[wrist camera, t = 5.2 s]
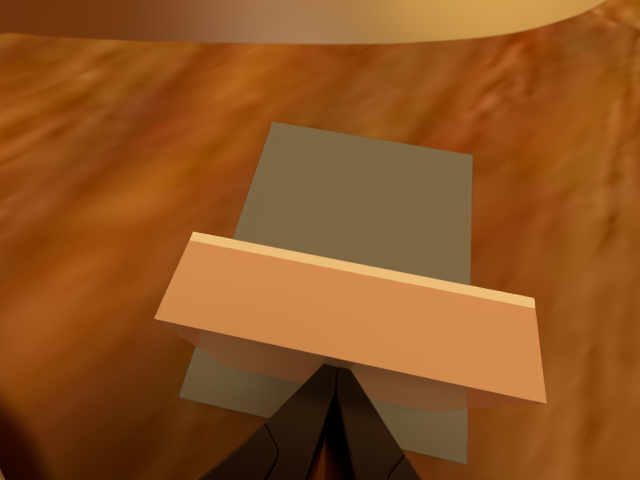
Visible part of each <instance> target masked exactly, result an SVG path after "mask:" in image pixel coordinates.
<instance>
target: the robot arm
mask: <svg viewBox="0 0 640 480" xmlns="http://www.w3.org/2000/svg"><path fill="white" fill-rule="evenodd" d="M325 437H326V438H325ZM324 442H325V480H422V479H421V478H420V477H419V475H418V474H417V472H416V471H415V469H414V468H413V466H412V464H411V463H410V461H409V460H408V458H407V457H405V454H404V453H403V451H402V449H401V448H400V446H399V445H398V443H397V442H396V440H395V438H394V437H393V435H392V434H391V432H390V431H389V429H388V427H387V426H386V424H385V423H384V421H383V420H382V418H381V416H380V415H379V413H378V412H377V410H376V409H375V407H374V405H373V404H372V402H371V401H370V399H369V398H368V396H367V394H366V393H365V391H364V390H363V388H362V386H361V385H360V383H359V382H358V380H357V379H356V377H355V375H354V374H353V372H352V371H351V370H350V369H347V368H343V367H337V369H336V366H333V365H328V364H323V365H321V366H320V367H319V368H318V369H317V370H316V371H315V372H314V373H313V374H312V376H311V377H310V378H309V379H308V380H307V381H306V382H305V383H304V384H303V385H302V386H301V387H300V388H299V389H298V390H297V391H296V392H295V393H294V394H293V395H292V396H291V397H290V398H289V399H288V400H287V401H286V402H285V403H284V404H283V405H282V406H281V407H280V408H279V409H278V410H277V411H276V412H275V413H274V414H273V415H272V416H271V417H270V418H269V419H268V420H267V421H266V422H265V423H264V424H263V425H261V426H260V427H259V428H258V429H257V430H256V432H255V433H254V434H252V435H251V436H250V437H249V438H248V439H247V440H246V441H245V442H244V443H243V444H242V445H241V446H240V447H238V448H237V449H236V450H235V451H234V452H232V453H231V454H230V455H229V456H227V457H226V458H225V459H224V460H223V461H221V462H220V463H219V464H217V465H216V466H215V467H213V468H212V469H211V470H210V471H208V472H207V473H206V474H204V475H203V476H202V477H201V478H199V479H198V480H315V476H316V472H317V469H318V465H319V461H320V457H321V454H322V450H323V446H324Z"/></svg>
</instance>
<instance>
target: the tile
mask: <svg viewBox="0 0 640 480" xmlns="http://www.w3.org/2000/svg"><path fill="white" fill-rule="evenodd" d="M154 319H155V320H157V321H158V322H160V323H161V324H163V325H164V326H166V327H167V328H169V329H170V330H172V331H173V332H175V333H176V334H178V335H179V336H181V337H182V338H184V339H185V340H187V341H188V342H190V343H191V344H193V345H194V346H196V347H197V348H199V349H200V350H202V351H203V352H205V353H207V354H208V355H210V356H211V357H213V358H214V359H216V360H217V361H219V362H220V363H222V364H223V365H225V366H226V367H228V368H232V369H236V370H241V371H245V372H250V373H254V374H259V375H263V376H268V377H272V378H277V379H281V380H286V381H290V382H295V383H299V384H304V383H305V382H306V381H307V380H308V379H309V378H310V377H311V376H312V374H313V373H314V372H315V371H316V370H317V369H318V368H319V367H320V366H321V365H323V364H328V365H333V366H336V369H337V367H343V368H347V369H350V370H351V371H352V372H353V374H354V375H355V377H356V379H357V380H358V382H359V383H360V385H361V386H362V388H363V390H364V391H365V393H366V394H367V396H368V398H369V399H371V400H375V401H380V402H384V403H389V404H393V405H398V406H402V407H407V408H411V409H416V410H420V411H425V412H438V411H452V410H466V409H480V408H493V407H507V406H521V405H535V404H547V402H546V394H545V386H544V377H543V369H542V361H541V352H540V344H539V336H538V327H537V319H536V311H535V302H534V298H531V297H525V296H520V295H515V294H510V293H505V292H500V291H495V290H490V289H484V288H479V287H474V286H469V285H464V284H459V283H454V282H449V281H443V280H438V279H433V278H428V277H423V276H418V275H413V274H408V273H402V272H397V271H392V270H387V269H382V268H377V267H372V266H367V265H362V264H356V263H351V262H346V261H341V260H336V259H331V258H326V257H321V256H315V255H310V254H305V253H300V252H295V251H290V250H285V249H280V248H274V247H269V246H264V245H259V244H254V243H249V242H244V241H239V240H233V239H228V238H223V237H218V236H213V235H208V234H203V233H198V232H193V234H192V236H191V238H190V240H189V242H188V245H187V247H186V249H185V251H184V254H183V256H182V258H181V260H180V262H179V265H178V267H177V269H176V271H175V273H174V276H173V278H172V280H171V282H170V285H169V287H168V289H167V291H166V293H165V296H164V298H163V300H162V302H161V304H160V307H159V309H158V311H157V313H156V316H155V318H154Z"/></svg>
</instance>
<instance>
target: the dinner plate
mask: <svg viewBox="0 0 640 480" xmlns="http://www.w3.org/2000/svg"><path fill="white" fill-rule="evenodd" d="M0 480H5V479H4V476H3V474H2V471H1V469H0Z"/></svg>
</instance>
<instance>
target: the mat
mask: <svg viewBox="0 0 640 480" xmlns="http://www.w3.org/2000/svg"><path fill="white" fill-rule="evenodd" d="M471 211H472V155H468V154H462V153H456V152H450V151H444V150H438V149H432V148H426V147H420V146H414V145H408V144H402V143H396V142H390V141H384V140H378V139H372V138H367V137H361V136H355V135H349V134H343V133H337V132H331V131H325V130H319V129H313V128H307V127H301V126H295V125H289V124H283V123H277V122H272V125H271V128H270V131H269V134H268V137H267V140H266V143H265V146H264V149H263V152H262V154H261V157H260V160H259V163H258V166H257V169H256V172H255V175H254V178H253V181H252V184H251V187H250V189H249V192H248V195H247V198H246V201H245V204H244V207H243V210H242V213H241V216H240V219H239V222H238V224H237V227H236V230H235V233H234V236H233V240H239V241H244V242H249V243H254V244H259V245H264V246H269V247H274V248H280V249H285V250H290V251H295V252H300V253H305V254H310V255H315V256H321V257H326V258H331V259H336V260H341V261H346V262H351V263H356V264H362V265H367V266H372V267H377V268H382V269H387V270H392V271H397V272H402V273H408V274H413V275H418V276H423V277H428V278H433V279H438V280H443V281H449V282H454V283H459V284H464V285H469V286H470V268H471ZM302 385H303V384H299V383H295V382H290V381H286V380H281V379H277V378H272V377H268V376H263V375H259V374H254V373H250V372H245V371H241V370H236V369H232V368H228V367H226V366H225V365H223V364H222V363H220V362H219V361H217V360H216V359H214V358H213V357H211V356H210V355H208V354H207V353H205V352H203V351H202V350H200V349H199V348H197V347H195V350H194V353H193V356H192V359H191V362H190V365H189V367H188V370H187V373H186V376H185V379H184V382H183V385H182V388H181V391H180V394H179V398H183V399H187V400H192V401H196V402H200V403H205V404H209V405H213V406H218V407H222V408H226V409H230V410H235V411H239V412H243V413H248V414H252V415H256V416H261V417H265V418H270V417H271V416H272V415H273V414H274V413H275V412H276V411H277V410H278V409H279V408H280V407H281V406H282V405H283V404H284V403H285V402H286V401H287V400H288V399H289V398H290V397H291V396H292V395H293V394H294V393H295V392H296V391H297V390H298V389H299V388H300V387H301V386H302ZM370 401H371V402H372V404H373V405H374V407H375V409H376V410H377V412H378V413H379V415H380V416H381V418H382V420H383V421H384V423H385V424H386V426H387V427H388V429H389V431H390V432H391V434H392V435H393V437H394V438H395V440H396V442H397V443H398V445H399V446H400V448H401V449H403V450H407V451H411V452H416V453H420V454H424V455H429V456H433V457H437V458H441V459H446V460H450V461H454V462H459V463H463V464H467V439H468V409H466V410H452V411H438V412H425V411H420V410H416V409H411V408H407V407H402V406H398V405H393V404H389V403H384V402H380V401H375V400H371V399H370Z"/></svg>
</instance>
